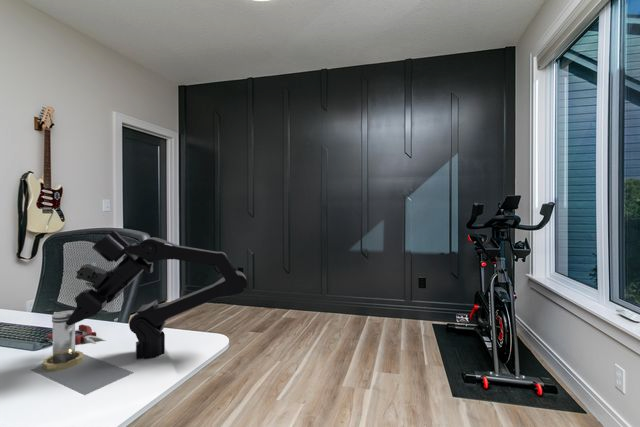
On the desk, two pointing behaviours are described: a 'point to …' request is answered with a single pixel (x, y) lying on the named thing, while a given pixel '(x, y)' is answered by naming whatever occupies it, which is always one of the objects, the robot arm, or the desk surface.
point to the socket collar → (64, 365)
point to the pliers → (83, 336)
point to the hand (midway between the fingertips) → (75, 318)
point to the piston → (63, 338)
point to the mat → (86, 375)
